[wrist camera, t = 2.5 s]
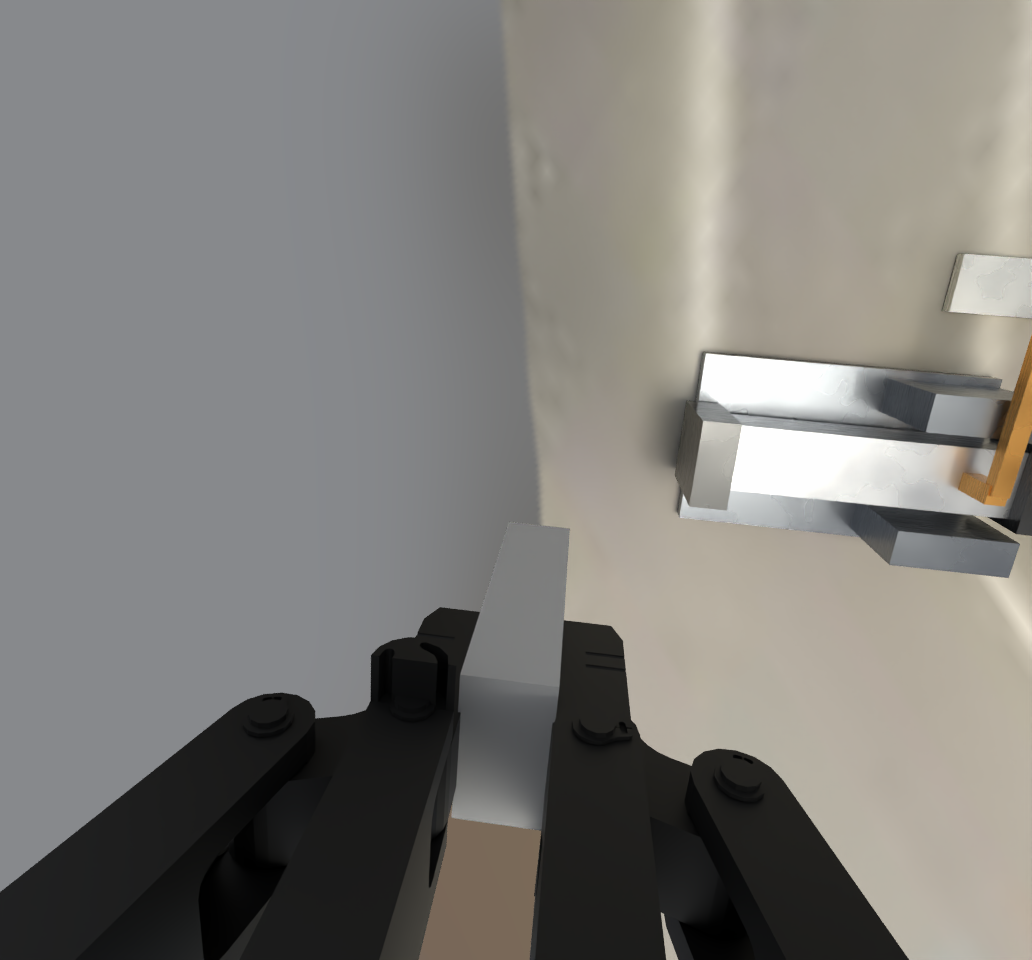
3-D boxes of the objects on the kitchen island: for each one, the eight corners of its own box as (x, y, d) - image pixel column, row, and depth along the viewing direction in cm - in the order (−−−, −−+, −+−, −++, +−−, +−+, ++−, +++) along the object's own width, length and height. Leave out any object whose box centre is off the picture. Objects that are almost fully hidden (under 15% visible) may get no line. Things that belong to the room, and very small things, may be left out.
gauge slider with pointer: (712, 234, 29) (738, 224, 24) (1066, 260, 28) (1168, 256, 23) (674, 475, 33) (690, 509, 28) (988, 507, 31) (1063, 549, 27)
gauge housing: (721, 236, 30) (748, 228, 25) (1182, 270, 29) (1306, 268, 24) (677, 512, 34) (692, 551, 29) (1077, 555, 33) (1164, 603, 28)
